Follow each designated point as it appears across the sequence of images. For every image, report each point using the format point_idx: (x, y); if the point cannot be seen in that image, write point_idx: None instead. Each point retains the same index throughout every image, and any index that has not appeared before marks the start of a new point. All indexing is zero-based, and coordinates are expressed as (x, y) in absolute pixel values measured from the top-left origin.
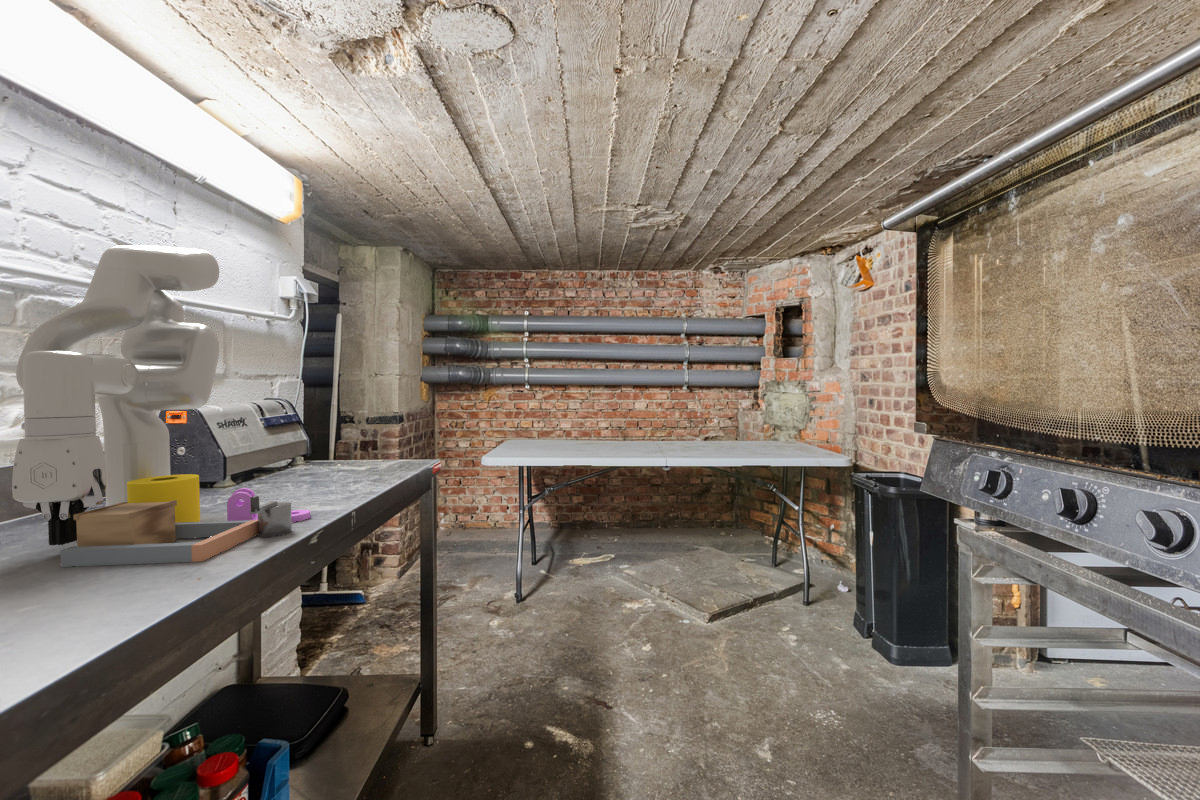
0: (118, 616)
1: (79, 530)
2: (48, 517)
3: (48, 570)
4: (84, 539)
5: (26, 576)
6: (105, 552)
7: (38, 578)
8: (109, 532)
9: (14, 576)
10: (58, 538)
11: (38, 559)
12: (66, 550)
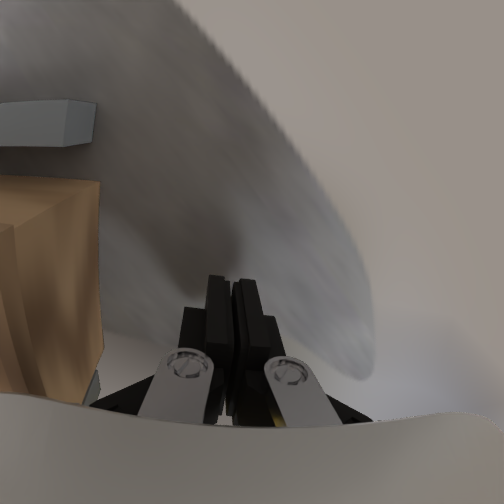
0: None
1: (30, 209)
2: (280, 368)
3: (115, 75)
4: (36, 196)
5: (144, 24)
6: None
7: (90, 4)
8: None
9: (188, 31)
10: (214, 286)
11: (265, 231)
12: (48, 100)
